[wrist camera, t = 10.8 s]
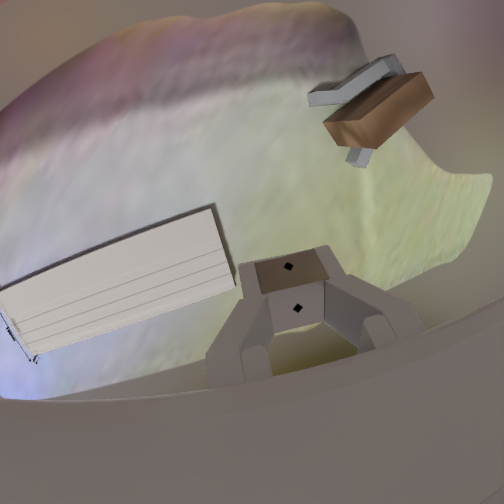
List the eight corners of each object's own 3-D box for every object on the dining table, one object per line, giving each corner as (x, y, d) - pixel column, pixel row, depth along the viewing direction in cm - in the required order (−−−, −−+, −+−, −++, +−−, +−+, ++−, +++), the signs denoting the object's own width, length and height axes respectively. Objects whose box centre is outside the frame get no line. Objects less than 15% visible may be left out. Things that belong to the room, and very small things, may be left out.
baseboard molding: (237, 293, 40) (208, 205, 35) (242, 304, 37) (212, 210, 33) (40, 359, 35) (-2, 289, 30) (34, 371, 32) (-11, 299, 28)
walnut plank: (322, 122, 35) (359, 120, 27) (381, 78, 34) (421, 71, 27) (337, 145, 36) (376, 149, 29) (393, 100, 36) (434, 97, 29)
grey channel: (302, 97, 33) (316, 93, 30) (373, 49, 33) (389, 45, 29) (350, 169, 38) (366, 173, 34) (411, 116, 37) (428, 116, 34)
